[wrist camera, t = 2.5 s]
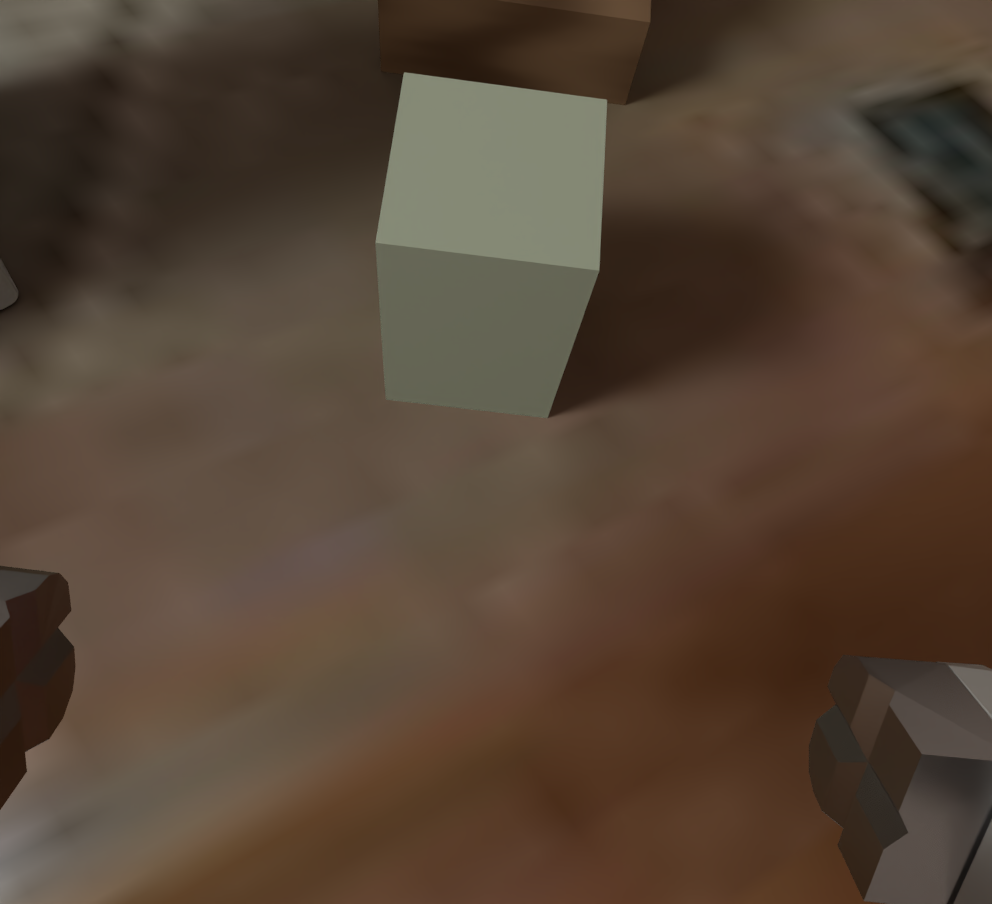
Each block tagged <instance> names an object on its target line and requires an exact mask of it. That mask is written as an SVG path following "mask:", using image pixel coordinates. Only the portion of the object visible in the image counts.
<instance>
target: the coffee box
mask: <svg viewBox="0 0 992 904" xmlns="http://www.w3.org/2000/svg"><path fill="white" fill-rule="evenodd" d="M17 297H18V290H17V288H16V286H15V284H14V282H13V280H12V278H11V277H10V275H9V273H8V271H7V269H6V267H5V265H4V264H3V262H2V260H1V258H0V310H1V309H4V308H6V307H8V306H10V305H11V304H13V303H14V302H15V301H16V300H17Z"/></svg>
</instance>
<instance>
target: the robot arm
mask: <svg viewBox="0 0 992 904" xmlns="http://www.w3.org/2000/svg"><path fill="white" fill-rule="evenodd" d="M70 612H71V603H70V595H69V586H68V582H67V581H66V580H65V579H64V578H63V576H62V575H61V574H60V573H55V572H47V571H39V570H31V569H23V568H14V567H6V566H0V809H1V808H2V806H3V805H4V804H5V802H6V801H7V799H8V798H9V796H10V795H11V794H12V792H13V791H14V789H15V788H16V786H17V785H18V783H19V782H20V781H21V779H22V778H23V776H24V775H25V773H26V772H27V769H26V758H25V752H26V751H28V750H30V749H31V748H33V747H35V746H37V745H39V744H41V743H42V742H44V741H46V740H48V739H50V737H51V735H52V734H53V732H54V731H55V729H56V728H57V726H58V725H59V723H60V722H61V720H62V719H63V716H64V714H65V711H66V708H67V705H68V702H69V699H70V697H71V694H72V691H73V684H74V675H75V653H74V646H73V645H72V644H71V643H70V642H69V640H68V639H67V638H66V637H65V636H64V634H63V633H62V632H61V631H60V630H59V628H58V627H59V625H60V624H61V623H62V622H63V620H64V619H65V618H66V617H67V615H68V614H69V613H70ZM828 689H829V691H830V693H831V695H832V697H833V699H834V701H835V703H836V705H835V706H833V707H832V708H831V709H830V710H828V711H827V712H826V713H825V714H823V715H822V716H821V717H820V718H818V719H817V720H816V723H815V727H814V730H813V734H812V737H811V741H810V744H809V775H810V779H811V784H812V788H813V792H814V794H815V797H816V799H817V801H818V803H819V806H820V808H821V810H822V811H823V812H824V813H825V814H827V815H828V816H829V817H830V818H831V819H833V820H834V821H835V822H836V823H838V824H839V825H840V826H841V827H842V828H844V829H843V831H842V834H841V837H840V840H839V843H838V847H839V849H840V851H841V853H842V856H843V858H844V860H845V862H846V864H847V866H848V868H849V870H850V873H851V875H852V877H853V879H854V881H855V883H856V885H857V887H858V890H859V892H860V894H861V896H862V898H863V900H864V901H869V902H878V903H887V904H992V669H990V668H988V667H985V666H983V665H977V664H962V663H947V662H925V661H913V660H900V659H888V658H876V657H863V656H851V655H843V656H842V657H841V659H840V660H839V661H838V663H837V664H836V665H835V667H834V669H833V672H832V675H831V678H830V681H829V684H828Z"/></svg>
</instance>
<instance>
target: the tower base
mask: <svg viewBox="0 0 992 904" xmlns="http://www.w3.org/2000/svg"><path fill="white" fill-rule="evenodd" d="M378 12H379V35H380V59H381V71H382V72H389V73H397V74H404V72H406V73H413V74H421V75H428V76H435V77H443V78H450V79H458V80H465V81H472V82H480V83H487V84H495V85H502V86H510V87H517V88H524V89H532V90H539V91H547V92H554V93H561V94H569V95H576V96H584V97H591V98H598V99H606V100H607V103H613V104H620V105H625V104H626V101H627V97H628V94H629V91H630V88H631V84H632V81H633V78H634V74H635V71H636V68H637V65H638V61H639V58H640V55H641V52H642V48H643V45H644V42H645V38H646V35H647V32H648V29H649V25H650V19H651V0H378Z"/></svg>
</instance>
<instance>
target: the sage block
mask: <svg viewBox="0 0 992 904" xmlns="http://www.w3.org/2000/svg"><path fill="white" fill-rule="evenodd" d="M606 114H607V100H606V99H598V98H591V97H584V96H576V95H569V94H561V93H554V92H547V91H539V90H532V89H524V88H517V87H510V86H502V85H495V84H487V83H480V82H472V81H465V80H458V79H450V78H443V77H435V76H428V75H421V74H413V73H406V72H404V75H403V81H402V87H401V93H400V99H399V105H398V111H397V117H396V123H395V129H394V135H393V141H392V147H391V153H390V159H389V165H388V171H387V177H386V183H385V189H384V195H383V201H382V206H381V212H380V218H379V224H378V230H377V236H376V242H375V243H376V258H377V274H378V289H379V304H380V319H381V334H382V349H383V364H384V380H385V395H386V399H387V400H395V401H404V402H413V403H421V404H430V405H438V406H447V407H456V408H464V409H473V410H482V411H490V412H499V413H508V414H516V415H525V416H534V417H542V418H548V415H549V412H550V409H551V407H552V404H553V401H554V398H555V395H556V392H557V390H558V387H559V384H560V381H561V378H562V375H563V372H564V370H565V367H566V364H567V361H568V358H569V355H570V353H571V350H572V347H573V344H574V341H575V338H576V336H577V333H578V330H579V327H580V324H581V321H582V318H583V316H584V313H585V310H586V307H587V304H588V301H589V299H590V296H591V293H592V290H593V287H594V284H595V282H596V279H597V276H598V273H599V267H600V246H601V224H602V202H603V180H604V158H605V136H606Z"/></svg>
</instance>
